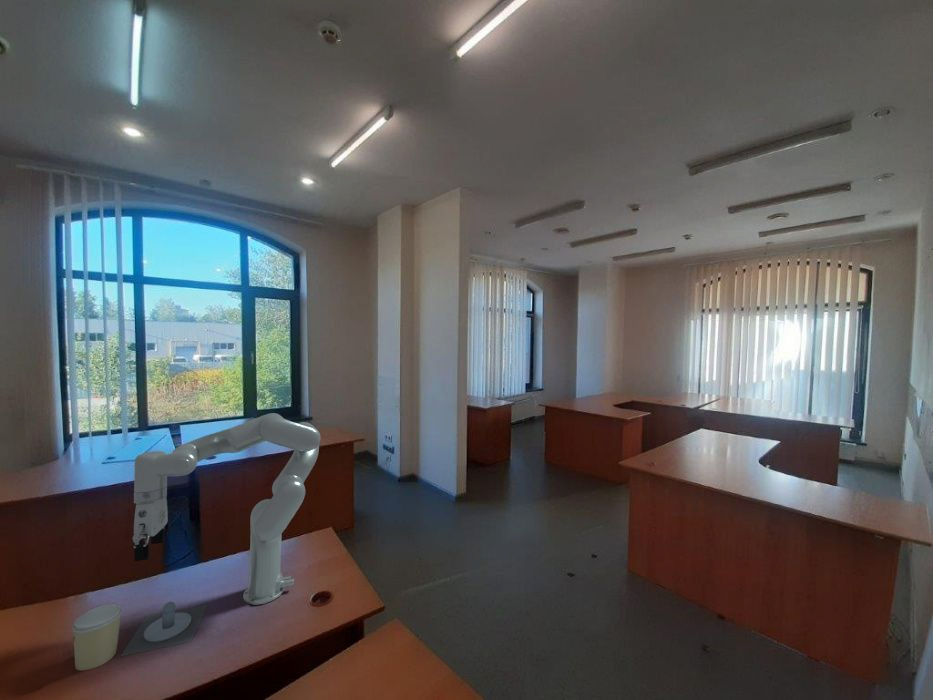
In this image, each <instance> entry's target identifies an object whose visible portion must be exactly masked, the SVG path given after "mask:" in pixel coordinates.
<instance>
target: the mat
mask: <svg viewBox="0 0 933 700" xmlns="http://www.w3.org/2000/svg"><path fill="white" fill-rule="evenodd" d="M208 607H209V604H207V605H202V606H195V607H190V608H184V609H180V610H175V613H188V614H189V615H190V616H191V623H190V625H189V627H188V628H187V629H186V630H185V631H183V632H182V633H180V634H179V635H177V636H175V637H173V638H171V639H168V640H165V641H162V642H156V643H151V642H147V641H145V640H144V631H145V630H146V628H147V627H148V626H149V625H150V624H152V623H153V622H155V621H156V620H158V619H160V618H162V617H163V613H157V614H151V615H147V616H146V617H145V619H144V620H143V622H142V623H141V625H140V626H139V628H138V629H137V630H136V632H135V634H134V635H133V636H132V638H131V639H130V641H129V642H128V643H127V645H126V647H125V648H124V650H123V651H122V652H121V654H120V655H119V657H123V656H128V655H132V654H138V653H142V652H147V651H151V650H152V651H153V650H157V649H161V648H167V647H171V646H176V645H182V644H186V643H191V642H192V640H193V638H194V636H195V634H196V632H197V630H198V627H199V626H200V623H201V621H202V619H203V618H204V615H205V612H206V611H207V609H208Z"/></svg>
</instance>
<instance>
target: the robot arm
mask: <svg viewBox="0 0 933 700" xmlns="http://www.w3.org/2000/svg"><path fill="white" fill-rule="evenodd" d="M321 438H322V437H321V434H320V431H319V430H318V429H317V428H316V427H315V426H314V425H313V424H311V423H309V422H308V421H307V422H306V421H302V422H301V421H300V422H298V423H297V422H295V421H291V420H289V419H286V418H284V417H283V416H281V414H279V413H274V412H271V413H267V414H263V415H261V416H258V417H256V418H253V419H250V420H248V421H245V422H243V423H241V424H237V425H235V426H233V427H229V428H227V429H223V430H220V431H216V432H213V433H210V434H207V435H204V436H201V437H198V438H195V439H193V440H191V441H188V442H186V443H185V442H184V443H183V444H181V445H178V446H177V447H175V448H174V449H173V450H172V452H171V453H166V452H165V451H160V450H158V451H157V450H156V451H147V452H143V453H140V454H138V455H137V456H136V457H135V459H134V473H133V474H134V478H133V480H134V481H133V484H134V485H133V486H134V487H133V503H134V504H135V511H134V522H133V536H132V542H133V543H132V545H133V548H134V550H133V551H134V552H133V553H134V555H133V559H134V561H133V562H140V561H146V560H148V559H149V558H150V544H148V543H149V540H150V543H151V545H154V544H155V545H156V544H162V543H164V542H165V526H166V525H167V524H168V522H169V521H168V519H169V518H168V516H169V515H168V514H169V513H168V512H169V511H168V499H167V496H168V477H182V476H187V475H189V474H191V473H193V471H194V470H195V469H196V467H197V465H198V463H199V462H201V461H203V460H206V459H209V458H211V457H213V456H214V457H215V456H217V455H220V454H235V453H236V454H237V453H240V452H243V451H245V450H247V449H250V448H251V447H254V446H257V445H259V444H262V443H264V442H268V443H271V444H274V445H275V446H276V445H277V446H279V447H284V448H288V449H292V450H293V453H292V455H291V456H290V458H289V460H288V462H287V463H286V465H285V466H284V468H283V469H282V470H281V472H280V473H279V475H278V476H277V477H276V478H275V479H274V481H273V484H272V486H271V492H272V495H273V496H272V497H271V498H267V499H263V500H261V501H259V502H258V503H257V504H255V505H254V507H253V508H252V510H251V513H250V522H249V523H250V524H249V525H250V537H249V538H250V540H249V541H250V545H249V546H250V548H249V569H248V570H249V572H248V573H249V574H248V576H249V577H248V587H247V588H246V589H245V590H244V592H243V595H242V599H243V601H244V602H245V603H247V604H249V605H251V606H255V605H256V606H258V605H264V604H267V603H270V602H272V601H274V600H276V599H278V597H280V596H281V595H282V594H283V592H285V587H288V586H294V583H295V578H292V576H291V575H288V576H285V577H284V576H283V572H281V564H282V563H281V561H282V533H284V531H285V530H286V529H287V528H288V527H287V526H288V525H289V524H290V522H291V520H292V519H293V518H294V516H295V515H296V513H297V511H298V510H299V508H300V507H301V505H302V503H303V501H304V499H305V496H306V487H305V485H304V483H305V481H306V479H307V478H308V476H309V475H310V473H311V471H312V470H313V468H314V466H315V465H316V461H318V460H317V459H318V457H319V452H320V451H319V450H320V443H321ZM143 539H144V540H143Z"/></svg>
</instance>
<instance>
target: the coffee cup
mask: <svg viewBox="0 0 933 700" xmlns="http://www.w3.org/2000/svg"><path fill="white" fill-rule="evenodd" d="M122 612H123V610H122V608H121V606H120V605H118V604H116V603H115V604H113V603H112V604H105V605H99V606H97V607H95V608H92V609H90V610H88V611H85V612H84V613H83V614H81V615H79V616H78V617H77V618H76V620H75V621H74V623H72V627H71V628H72V632H73V633H72V634H73V635H72V636H73V653H74V666H75V670H77V671H89V670H92V669H95V668H97V667H100V666H102V665H103V664H105V663H107V662H109V660H111V659H112V658H113V657H115V655H116V653H117V649H118V643H119V633H120V624H121V617H122Z"/></svg>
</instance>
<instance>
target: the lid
mask: <svg viewBox="0 0 933 700" xmlns="http://www.w3.org/2000/svg"><path fill="white" fill-rule="evenodd" d="M176 608H177V604H176V603H175V602H174V601H173V600H172V601H171V600H170V601H168V602H166V603H165V604H164V605H163V606H162V609H161V612H162V613H163V617H162V618H160V619H158V620H156V621H155V622H153V623H152V624H150V625H149V626H148V627H147V628H146V630H145V631H144V640H145V641H147V642H151V643H156V642H162V641H165V640H168V639H171V638H173V637H175V636H177V635H179V634H180V633H182V632H183V631H185V630H186V629H187V628H188V627H189V625H190V623H191V616H190V615H189V614H188V613H175V611H176Z"/></svg>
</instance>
